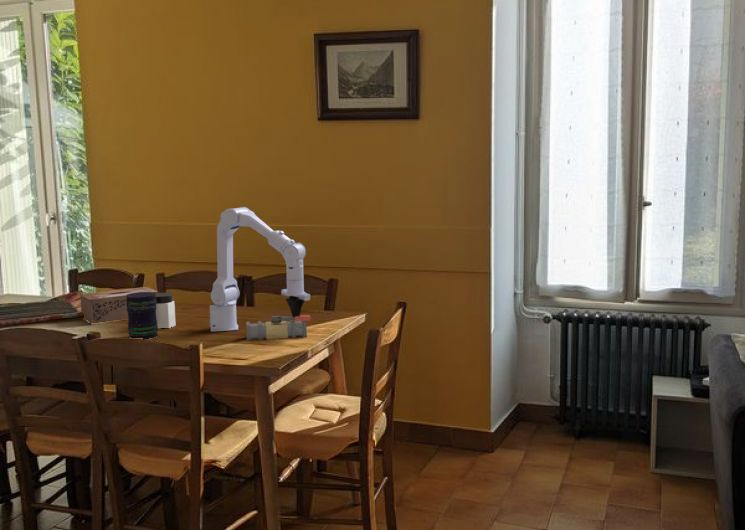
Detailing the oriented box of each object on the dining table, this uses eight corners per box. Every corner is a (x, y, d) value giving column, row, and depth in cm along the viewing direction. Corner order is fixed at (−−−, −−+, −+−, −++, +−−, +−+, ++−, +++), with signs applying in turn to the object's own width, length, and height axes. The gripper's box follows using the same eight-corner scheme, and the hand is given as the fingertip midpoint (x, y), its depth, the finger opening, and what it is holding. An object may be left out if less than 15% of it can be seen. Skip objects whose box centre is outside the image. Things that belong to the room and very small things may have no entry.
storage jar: (148, 341, 248) (145, 297, 245) (122, 339, 250) (119, 296, 248) (164, 334, 257) (161, 292, 255) (139, 333, 260) (136, 291, 258)
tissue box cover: (91, 325, 274) (89, 299, 273) (82, 319, 286) (80, 294, 285) (159, 316, 289) (158, 291, 288) (148, 311, 301) (146, 286, 299)
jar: (175, 323, 274) (174, 292, 272) (175, 328, 266) (173, 295, 265) (150, 325, 272) (148, 293, 270) (149, 330, 264) (147, 297, 262)
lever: (270, 323, 248) (270, 317, 248) (271, 320, 251) (271, 315, 251) (310, 321, 249) (310, 316, 249) (310, 319, 252) (310, 314, 252)
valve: (247, 340, 246) (246, 325, 245) (246, 336, 252) (246, 321, 251) (306, 337, 249) (306, 322, 249) (305, 333, 255) (305, 318, 254)
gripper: (273, 278, 253) (274, 316, 255) (297, 283, 242) (298, 323, 244) (290, 275, 258) (291, 314, 260) (314, 280, 247) (315, 320, 249)
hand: (296, 318), depth 252 cm, fingers closed
